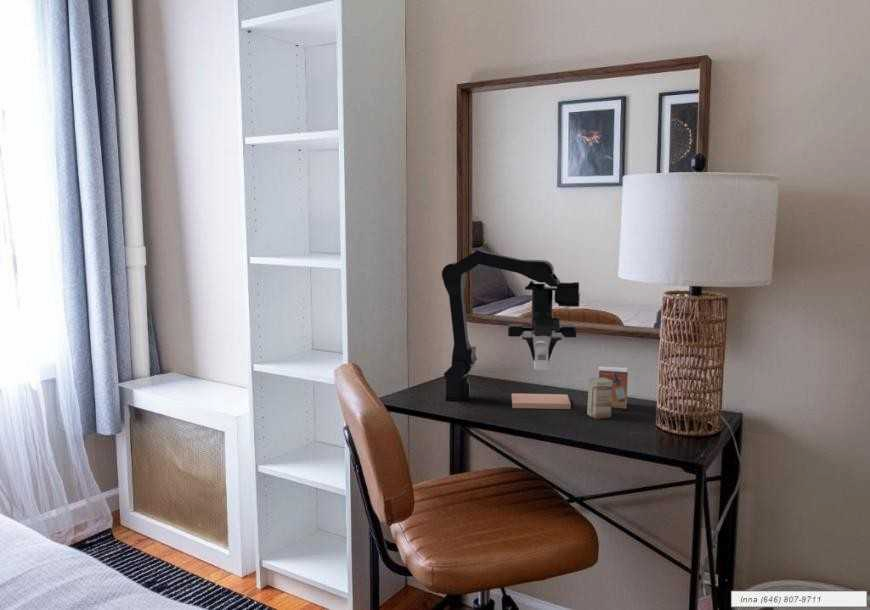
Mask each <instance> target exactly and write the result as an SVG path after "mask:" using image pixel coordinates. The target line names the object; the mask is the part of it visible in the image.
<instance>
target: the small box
mask: <svg viewBox="0 0 870 610" xmlns="http://www.w3.org/2000/svg"><path fill="white" fill-rule="evenodd" d="M602 377H605V378H607V379H610V380H612V381H613V386H612V403H611V408H615V409H627V404H628V403H627V402H628V401H627V400H628V380H629V378H628V377H629V370H628V367H614V366H613V367H611V366H599V367H598V377H597V378H602Z"/></svg>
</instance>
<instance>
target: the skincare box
mask: <svg viewBox="0 0 870 610" xmlns="http://www.w3.org/2000/svg"><path fill="white" fill-rule="evenodd" d="M612 386H613V381H612V380H610V379H607V378H605V377H602V378H598V377H593V378H592V377H591V378H588V389H587V390H588V391H587V392H588V394H587V408H586V409H587V411H586V414H587V416H589V417H591V418H594V419H595V420H596V419H606V418H607V419H608V418H611V417H612V407H611V403H612Z"/></svg>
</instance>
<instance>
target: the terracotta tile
mask: <svg viewBox="0 0 870 610" xmlns="http://www.w3.org/2000/svg"><path fill="white" fill-rule="evenodd" d="M571 406H572V405H571V401H570V398H569V396H568V394H558V393H557V394H556V393H553V394H552V393H511V407H512V409H540V410H541V409H545V410H551V409H552V410H571V408H572V407H571Z"/></svg>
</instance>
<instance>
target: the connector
mask: <svg viewBox="0 0 870 610" xmlns="http://www.w3.org/2000/svg"><path fill="white" fill-rule="evenodd" d="M534 352H535V361H533V367H534V370H535V371H536V370H537V371H549V361H548V345H547V343H546V342H545V341H543V340H538V341H536V342H535V344H534Z"/></svg>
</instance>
